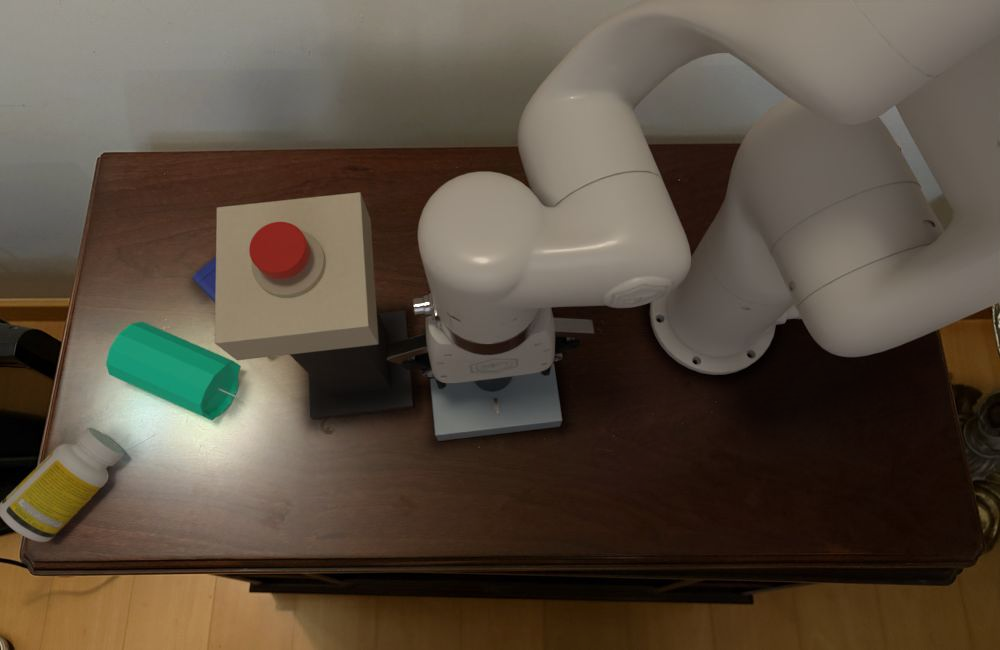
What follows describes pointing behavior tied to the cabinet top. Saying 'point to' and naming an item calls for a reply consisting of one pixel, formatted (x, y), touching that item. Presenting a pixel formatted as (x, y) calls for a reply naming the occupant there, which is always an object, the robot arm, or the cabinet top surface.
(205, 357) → the candle
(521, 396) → the dial panel
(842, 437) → the cabinet top surface
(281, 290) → the switch tower
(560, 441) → the cabinet top surface
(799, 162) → the robot arm
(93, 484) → the supplement bottle
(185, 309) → the cabinet top surface
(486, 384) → the dial
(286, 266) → the power button
